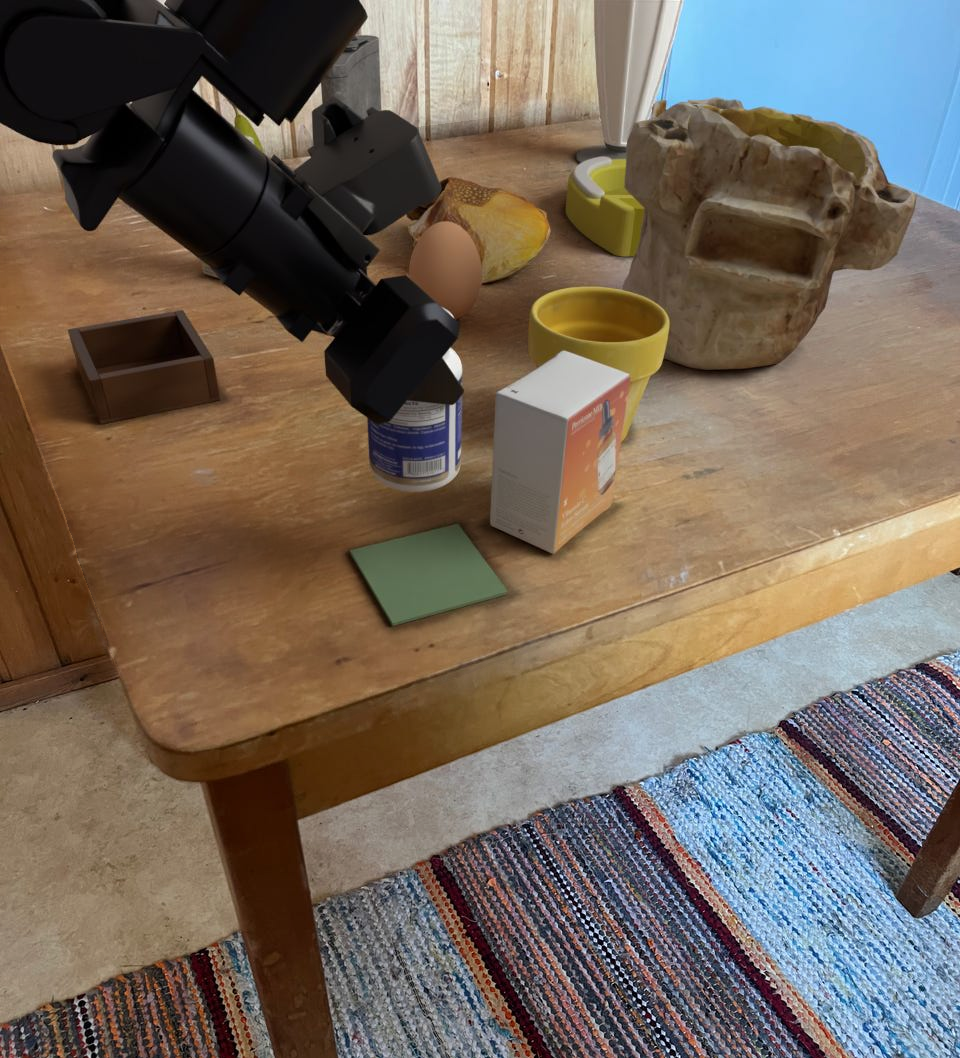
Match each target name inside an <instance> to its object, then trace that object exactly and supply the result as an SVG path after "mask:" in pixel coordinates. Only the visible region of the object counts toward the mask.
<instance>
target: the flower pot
mask: <svg viewBox="0 0 960 1058" xmlns="http://www.w3.org/2000/svg"><path fill="white" fill-rule="evenodd" d="M528 321H529V322H528V342H527V344H528V345H527V346H528V347H527V348H528V349H527V350H528V354H529V357H530V359H531V360H532V362H533V363H534V364H535V365H536V369H537V368H538V367H540V366H541V365H543V364H544V363H546V362H548V361H549V360H551V359H552V358H554V357H555V356H556V355H557V354H558V353H560V352H561V351H567V352H570V353H573V354H576V355H578V356H581V357H584V358H587V359H589V360H592V361H595V362H598V363H601V364H603V365H606V366H609V367H612V368H614V369H617V370H620V371H622V372H625V373H627V374H630V376H631V378H630V385H629V392H628V398H627V405H626V412H625V419H624V425H623V431H622V437H621V443H622V442H623V441H624V440H625V439H626V437H627V435H628V432H629V430H630V428H631V425H632V423H633V420H634V417H635V415H636V412H637V410H638V407H639V405H640V403H641V400H642V398H643V395H644V393H645V390H646V388H647V385H648V383H649V380H650V378H651V376H653V375H654V374H656V373H657V372H658V371H659V370H660V368H661V366H662V364H663V360H664V358H663V357H664V353H665V349H666V344H667V339H668V333H669V325H670V322H669V318H668V315H667V313H666V312H665V311H664V309H663V308H662V307H660V306H659V305H658V304H656V303H655V302H653V301H652V300H650V299H648V298H646V297H643V296H641V295H638V294H635V293H632V292H628V291H624V290H622V289H619V288H613V287H604V286H573V287H572V286H571V287H566V288H561V289H556V290H553V291H550V292H548V293H545V294H543V295H541V296H540V297H538V298H537V299H536V300H535V301H534V302H533V304H532V305H531V307H530V311H529V319H528Z"/></svg>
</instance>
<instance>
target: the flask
mask: <svg viewBox="0 0 960 1058" xmlns="http://www.w3.org/2000/svg"><path fill="white" fill-rule="evenodd" d="M381 87H382V86H381V62H380V37H379V36H376V35H371V34H361V35H360V30H359V31H358V32H357V34H356V35H355V36H354V38H353V39H352V41H351V42H350V43H349V45H348V46H347V47H346V49H345V50H344V51H343V53H342V54H341V56H340V57H339V58H338V60H337V61H336V62H335V64H334V65H333V67H332V68H331V69H330V71H329V72H328V73H327V75H326V76H325V78H324V79H323V80H322V82H321V83H320V91H321V105H322V104H323V103H325V102H326V101H328V100H329V99H331V98H332V97H336V98H337V99H338V100H340V101H341V102H343V103H344V104H346V105H347V106H348V107H350V108H351V109H352V110H353V111H355V112H356V113H357V114H358V115H360V116H361V117H362V118H363V119H365V118H366V117H368V114H367V112H366V110H368V109H369V108H371V107H373V108H375V109H376V110H378V111H382V91H381V90H382V89H381Z"/></svg>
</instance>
